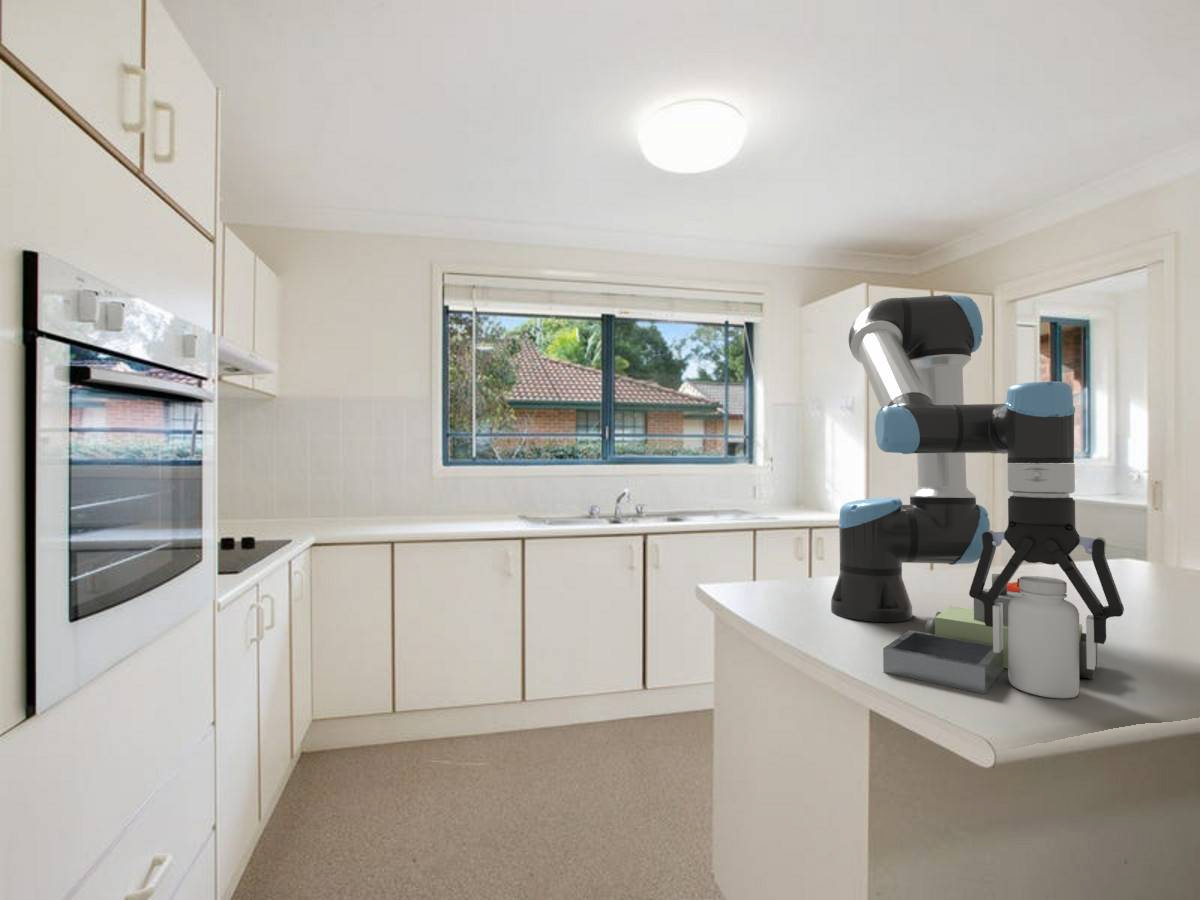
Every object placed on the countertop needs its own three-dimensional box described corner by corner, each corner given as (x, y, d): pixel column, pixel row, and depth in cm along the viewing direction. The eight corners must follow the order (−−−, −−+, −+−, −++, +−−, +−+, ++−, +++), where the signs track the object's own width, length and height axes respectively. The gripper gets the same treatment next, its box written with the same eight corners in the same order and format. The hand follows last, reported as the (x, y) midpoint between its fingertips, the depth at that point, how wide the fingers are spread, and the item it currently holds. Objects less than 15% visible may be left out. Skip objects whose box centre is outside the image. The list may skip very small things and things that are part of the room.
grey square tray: (883, 672, 92) (883, 648, 92) (910, 651, 101) (909, 630, 101) (985, 694, 83) (984, 667, 83) (1003, 669, 93) (1003, 646, 93)
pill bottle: (1056, 704, 80) (1055, 587, 80) (995, 683, 87) (993, 576, 87) (1093, 694, 83) (1092, 582, 83) (1031, 675, 90) (1030, 572, 90)
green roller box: (923, 652, 101) (922, 572, 101) (941, 637, 109) (940, 563, 109) (1091, 684, 86) (1089, 590, 87) (1097, 664, 95) (1096, 579, 95)
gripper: (942, 493, 90) (944, 647, 90) (1148, 499, 75) (1151, 685, 75) (955, 491, 95) (957, 636, 95) (1149, 496, 80) (1152, 669, 80)
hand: (1042, 658), depth 85 cm, fingers open, 10 cm apart
